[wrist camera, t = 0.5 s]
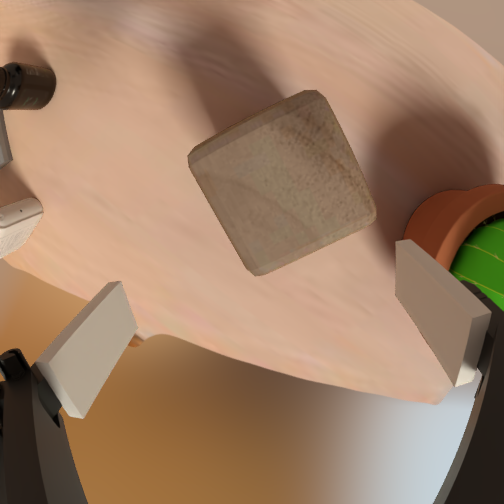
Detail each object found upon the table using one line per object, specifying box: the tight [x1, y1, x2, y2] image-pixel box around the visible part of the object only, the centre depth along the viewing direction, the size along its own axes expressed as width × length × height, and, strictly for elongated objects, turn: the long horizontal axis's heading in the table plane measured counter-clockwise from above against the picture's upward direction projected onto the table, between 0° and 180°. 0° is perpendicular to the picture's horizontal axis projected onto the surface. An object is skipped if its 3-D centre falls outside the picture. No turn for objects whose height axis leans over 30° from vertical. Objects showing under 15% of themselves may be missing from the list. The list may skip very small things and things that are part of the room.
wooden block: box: [188, 90, 377, 276], centre depth 29 cm, size 10×10×20 cm
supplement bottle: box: [0, 62, 56, 110], centre depth 29 cm, size 7×7×12 cm
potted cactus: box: [403, 184, 504, 350], centre depth 28 cm, size 22×22×25 cm
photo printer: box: [0, 197, 43, 259], centre depth 37 cm, size 10×4×12 cm, turn 129°
